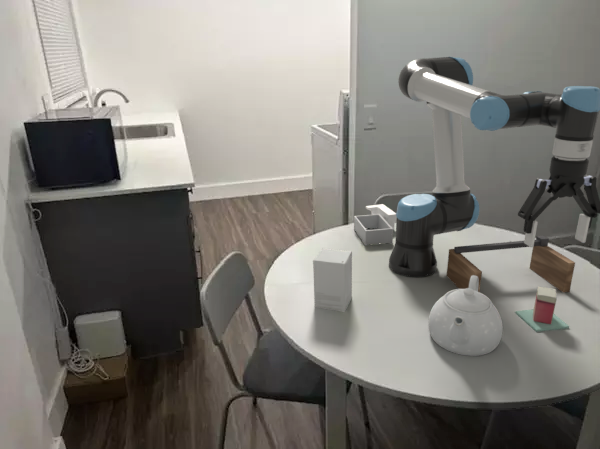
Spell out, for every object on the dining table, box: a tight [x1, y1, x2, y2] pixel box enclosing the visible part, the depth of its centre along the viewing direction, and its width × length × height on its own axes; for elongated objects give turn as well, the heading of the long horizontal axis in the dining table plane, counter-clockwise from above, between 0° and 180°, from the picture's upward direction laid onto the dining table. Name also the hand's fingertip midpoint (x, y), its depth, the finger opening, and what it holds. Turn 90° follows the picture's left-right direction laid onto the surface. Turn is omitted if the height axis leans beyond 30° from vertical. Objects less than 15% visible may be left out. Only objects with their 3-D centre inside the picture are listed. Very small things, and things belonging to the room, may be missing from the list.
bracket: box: [365, 203, 397, 231], centre depth 186 cm, size 13×7×8 cm
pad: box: [514, 308, 570, 332], centre depth 121 cm, size 9×9×1 cm
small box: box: [533, 285, 557, 324], centre depth 120 cm, size 5×4×8 cm
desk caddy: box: [353, 214, 394, 246], centre depth 176 cm, size 10×16×6 cm, turn 9°
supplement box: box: [312, 247, 353, 313], centre depth 130 cm, size 9×9×15 cm
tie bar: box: [453, 235, 550, 254], centre depth 141 cm, size 29×2×2 cm, turn 99°
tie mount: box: [446, 245, 576, 293], centre depth 138 cm, size 30×16×9 cm, turn 99°
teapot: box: [427, 275, 504, 357], centre depth 113 cm, size 19×18×14 cm
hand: (554, 242), depth 114 cm, fingers open, 13 cm apart
